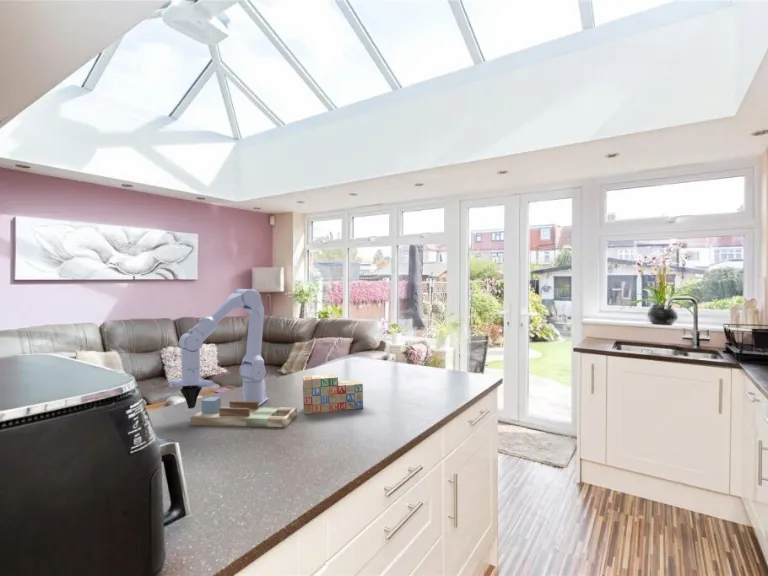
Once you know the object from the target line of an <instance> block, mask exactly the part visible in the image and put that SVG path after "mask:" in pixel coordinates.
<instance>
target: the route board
mask: <svg viewBox="0 0 768 576" xmlns="http://www.w3.org/2000/svg"><path fill="white" fill-rule="evenodd" d="M297 409H298V408H297V407H283V406H281V407H280V406H278V407H277V406H275V407H274V406H272V407H271V406H269V407H268V406H259V401H243V400H230V401H229V406H228V405H227V406H226V405H225V406H224V405H223V406H222V405H221V408H219V411H218V412H217V413H215V414H202V410H200V411H199V412H197V413H195V414H193V415H192V416H190V418H189V419H190V426H214V427H215V426H218V427H219V426H221V427H224V426H225V427H262V428H263V427H264V428H266V427H267V428H286V427H287V426H288V425H289V424H290V423H291V422H292V420H294V419H295V417H296V416H297V415H298V414H297V413H298V412H297V411H298V410H297Z"/></svg>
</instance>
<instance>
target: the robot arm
mask: <svg viewBox="0 0 768 576" xmlns="http://www.w3.org/2000/svg"><path fill="white" fill-rule="evenodd" d="M264 307H265V306H264V305H263V301H262V295H261V294H260V293H259V292H258V291H257V290H256V289H253V288H248V289H247V288H237V289H235V290H234V291H233V292H232V293H230V294H229V296H228V297H227V298H226V299H225V300H224V302H223V303H222V304H221V305H219V307H217V309H216V310H215V311H214V312H213V313H212V314H211V315H210V316H204V317H201V318H199V319H198V322H197V323H196V324H195V325H194V326H193V327H192V328H189V329H188V332H186V333H184V334H182V335H181V336H180V337H179V341H178V342H177V345H178V346H179V348H180V349H181V358H180V359H181V379H172V380H169V388H174V387H179V388H180V387H182V388H181V389H180V393H181V394H182V396H183V397H184V399H185V402H186V404H187V408H188V409H194V408H196V406H197V405H196V404H197V400H198V397H199V394H200V392H201V390H202V388H212V387H214V381H213V380H207V379H202V378H201V354H200V350H201V348H202V347H203V344H204V341H205V340H206V339H207V338H208V337H209V336H210V335H212V334H213V332H214V331H216V330H217V329H218V323H219V322H220V321H221V320H223V319H224V318H225V317H226V316H227V315H229V313H230V312H232V311H233V310H234V309H238V308H243V309H244V310H245V311H246V312H247V313H248V314H249V315H248V324H247V325H248V327H247V330H248V331H247V337H246V352H245V355H244V357H243V358H242V361H241V365H240V366H239V371H238V372H239V374H240V376H241V377H242V401H259V407H261V405H263V404H264V403H265V402H266V401H268V400H269V397H267V392H266V391H267V389H266V388H267V387H266V381H265V380H264V378H265V375H266V374H267V373H266V371H267V370H266V366H265V360H264V358H263V357H262V345H263V344H262V343H263V331H264V319H265V308H264Z"/></svg>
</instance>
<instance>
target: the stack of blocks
mask: <svg viewBox="0 0 768 576" xmlns="http://www.w3.org/2000/svg"><path fill="white" fill-rule="evenodd" d="M363 387H364V385H363V382H362V380H360V379H359V380H358V379H357V380H354V379H353V380H339V377H338V375H337V373H326V374H315V375H314V374H313V375H303V376H302V399H303V401H302V402H303V414H304V413H305V414H316V413H317V412H319V413H330V412H338V411H337V410H342V411H348V410H347V409H354V410H363V409H364V389H363ZM329 411H330V412H329ZM317 414H318V413H317Z"/></svg>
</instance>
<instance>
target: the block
mask: <svg viewBox="0 0 768 576" xmlns="http://www.w3.org/2000/svg"><path fill="white" fill-rule="evenodd" d="M221 398H222V397H221V396H208V397H206V398H204V399H202V400H201V411H202V414H215V413H217V412H218V411H219V408H221V406H222V404H221V403H222V402H221Z"/></svg>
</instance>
